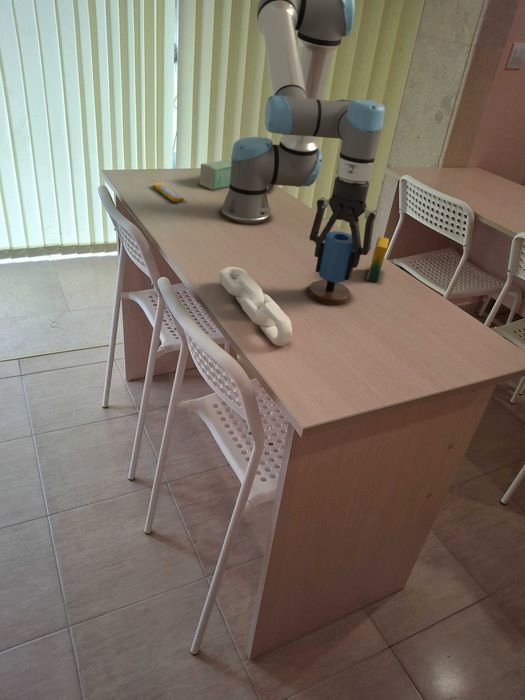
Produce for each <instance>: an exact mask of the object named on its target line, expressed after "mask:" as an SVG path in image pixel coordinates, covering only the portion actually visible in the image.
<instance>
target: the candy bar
mask: <svg viewBox="0 0 525 700" xmlns="http://www.w3.org/2000/svg"><path fill="white" fill-rule="evenodd" d="M151 186H152V187H154V189H156V190H157V191H158V192H159V193H161V195H163V196H164V197H166V198H167V199H168V200H170V201H171V202H173V203H179V202H182V201H184V196H182V197H181V196H180V195H178V194H177V193H175V192H174V191H173V190H172V189H170V188H169V187H168V186H167V185H166V184H164V182H162V181H159V182H152V183H151Z"/></svg>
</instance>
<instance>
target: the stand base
mask: <svg viewBox="0 0 525 700" xmlns="http://www.w3.org/2000/svg"><path fill="white" fill-rule="evenodd" d="M326 286H327V280H324V279H321V280H315V281H313V282H311V284H310V285H309V288H308V294H309V296H310V297H311V299H313V300H314V301H316V302H318V303H320V304H323V305H329V306H340V305H344V304H347V302H349V300H350V295H351V291H350V289H349V288H348V287H347V286H346V285H344V284H342V283H341V282H336V283H335V288H334V291H327V290H326Z"/></svg>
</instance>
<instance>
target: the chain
mask: <svg viewBox="0 0 525 700" xmlns="http://www.w3.org/2000/svg"><path fill="white" fill-rule="evenodd" d="M218 281H219V282H220V284H221V285H222V286H223V288H224V289H225V290H226V291H227V292H228V293H229V294H230V295H232V296H234V297H235V300H236V301H237V303H238V304H239V305H240V306H241V308H242V310H243V312H244V313H245V314H246V315H247V316H248V317H249V318H250V320H251V321H252V322H253V323H254V324H256V325H259V327H260V329H261V331H262V332H263V333H264V335H265V336H266V337H267V338H268V339H269V341H270V342H272V344H273V345H274V346H277V347H283V346H286V345H288V344H289V343H290V341H291V339H292V336H293V326H292V322H291V319H290V317H289V316H288V315H287V314H286V313H285V312H284V311H283V309H282V308H281V307H280V306H279V305H278V304H277V303H276V302H275V301H274V300H273V298H272V297H270V295H268V294H266V293H264V292H263V289H262V288H261V286H259V284H258V283H257V282H256V281H255V279H254V278H252V276H251V275H250V274H249V273H248V272H247V271H246V269H244V268H241V267H238V266H228V267H224V268H222V269H221V270H220V272H219V273H218Z"/></svg>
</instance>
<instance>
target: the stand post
mask: <svg viewBox="0 0 525 700" xmlns="http://www.w3.org/2000/svg"><path fill="white" fill-rule="evenodd" d="M335 283H336V282H330V281H327V286H326V290H327V291H334V288H335Z"/></svg>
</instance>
